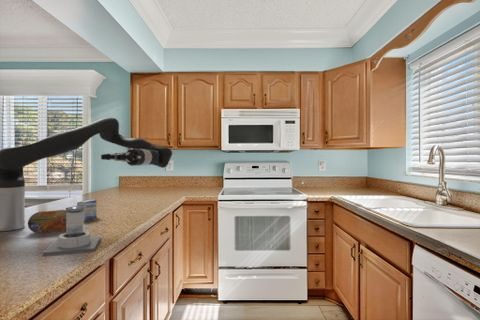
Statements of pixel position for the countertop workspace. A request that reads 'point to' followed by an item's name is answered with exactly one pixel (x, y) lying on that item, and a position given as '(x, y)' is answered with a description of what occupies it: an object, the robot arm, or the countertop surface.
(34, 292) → the countertop surface
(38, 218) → the tin
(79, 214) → the silver metal canister
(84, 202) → the medicine box
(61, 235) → the collar
